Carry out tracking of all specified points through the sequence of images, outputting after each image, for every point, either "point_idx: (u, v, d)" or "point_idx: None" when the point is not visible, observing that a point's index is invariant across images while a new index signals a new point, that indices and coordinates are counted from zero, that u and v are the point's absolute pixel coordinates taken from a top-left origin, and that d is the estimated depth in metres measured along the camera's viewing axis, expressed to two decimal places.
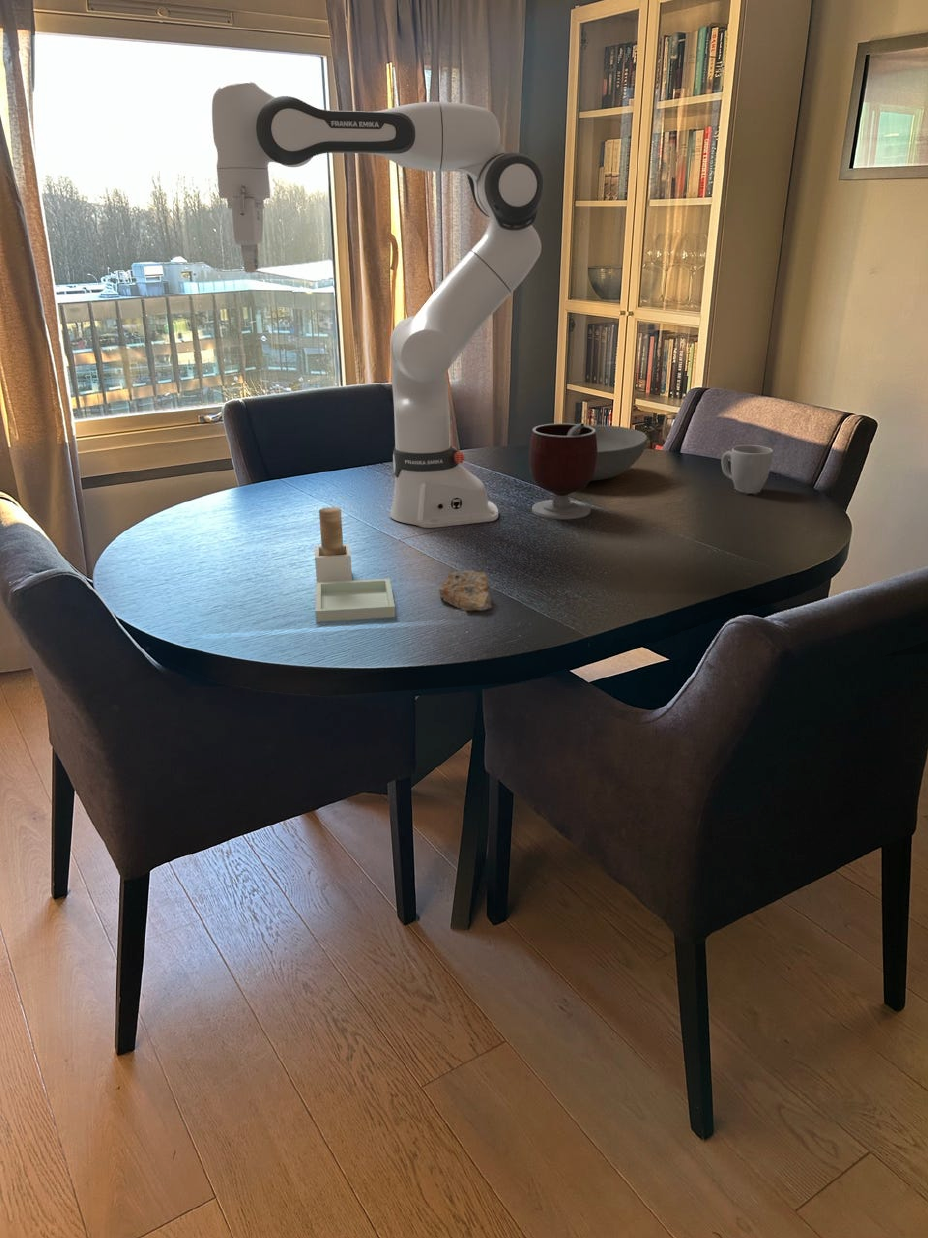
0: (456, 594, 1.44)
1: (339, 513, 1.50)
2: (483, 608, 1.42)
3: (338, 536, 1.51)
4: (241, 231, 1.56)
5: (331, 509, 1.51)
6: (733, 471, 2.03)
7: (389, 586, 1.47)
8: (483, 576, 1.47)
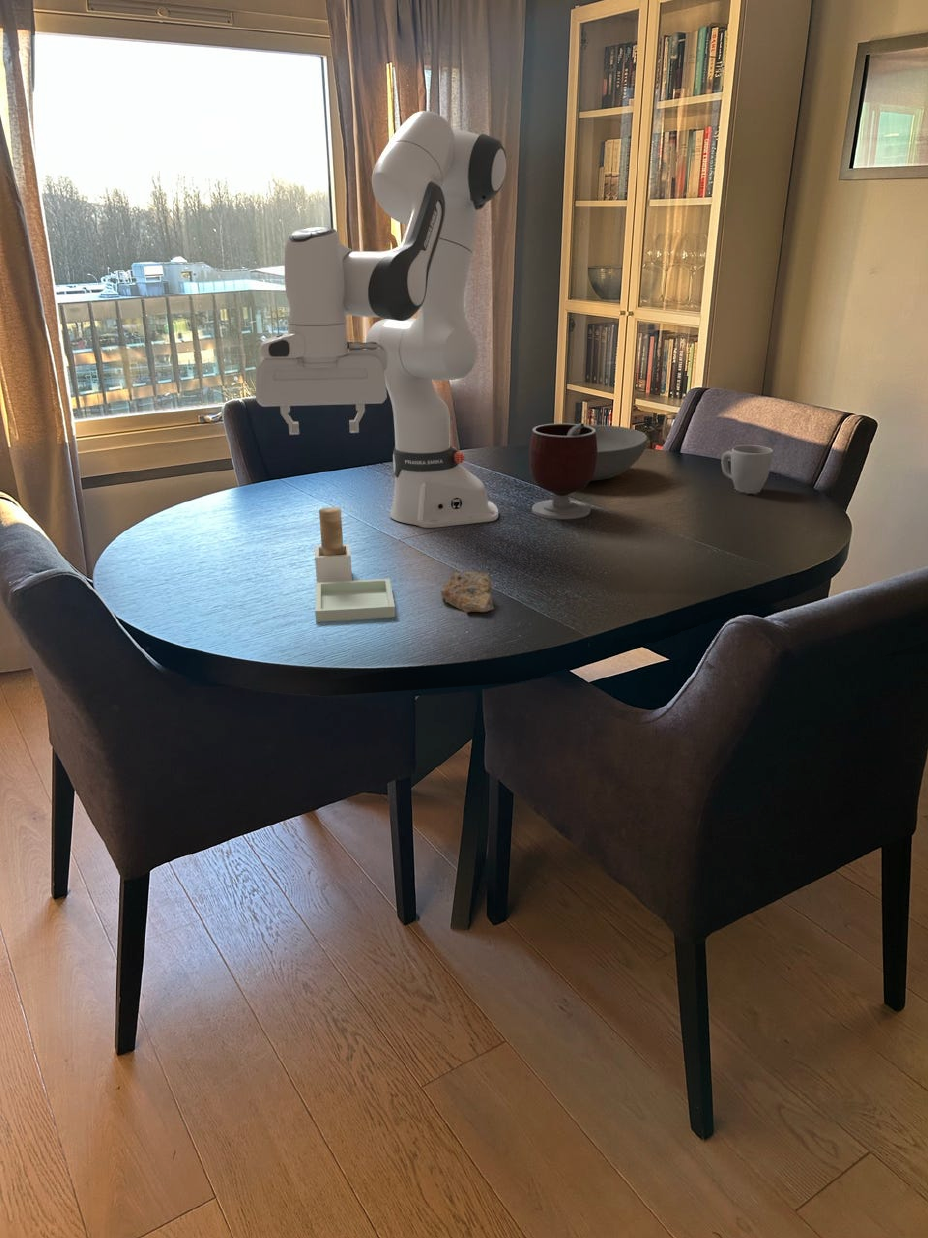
0: (457, 595, 1.44)
1: (339, 513, 1.50)
2: (485, 610, 1.42)
3: (338, 536, 1.51)
4: None
5: (331, 509, 1.51)
6: (733, 471, 2.03)
7: (389, 586, 1.47)
8: (485, 577, 1.46)
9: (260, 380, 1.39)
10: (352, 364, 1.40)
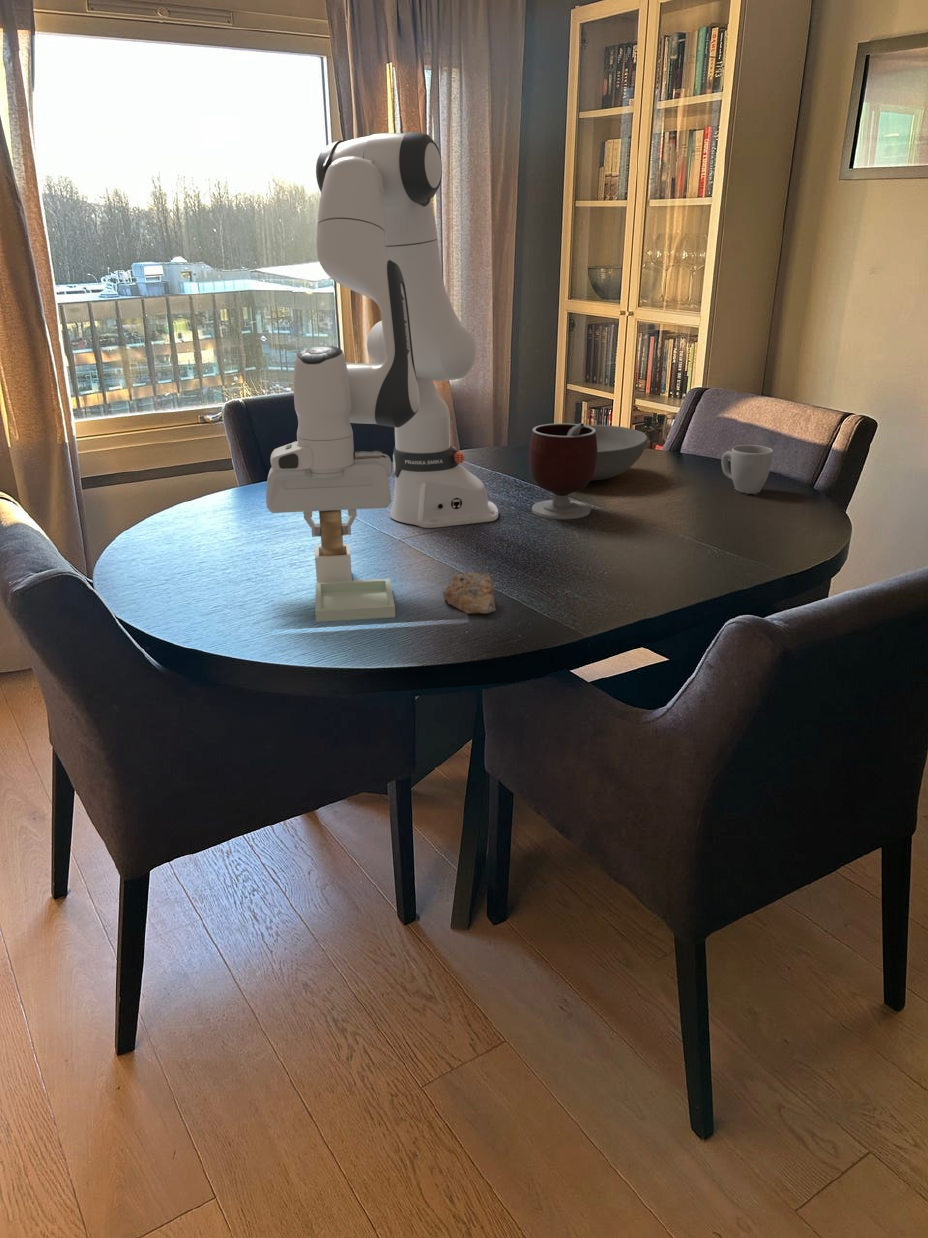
0: (459, 596, 1.43)
1: (339, 513, 1.50)
2: (487, 611, 1.41)
3: (338, 536, 1.51)
4: None
5: None
6: (733, 471, 2.03)
7: (389, 586, 1.47)
8: (488, 579, 1.45)
9: (270, 490, 1.46)
10: (358, 473, 1.47)
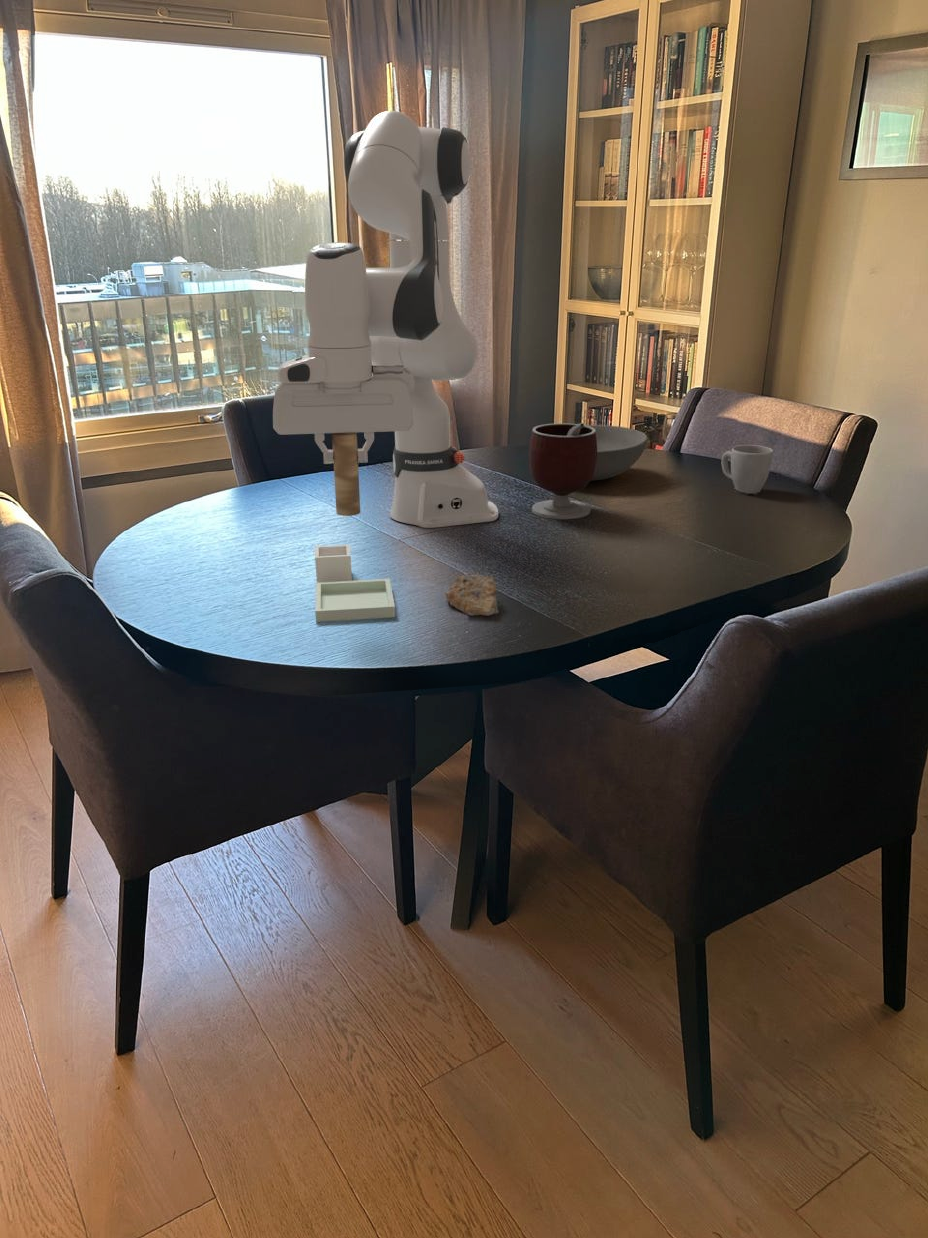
0: (462, 598, 1.42)
1: (355, 436, 1.33)
2: (489, 613, 1.40)
3: (353, 463, 1.34)
4: None
5: None
6: (733, 471, 2.03)
7: (389, 586, 1.47)
8: (491, 580, 1.45)
9: (278, 407, 1.29)
10: (376, 390, 1.30)
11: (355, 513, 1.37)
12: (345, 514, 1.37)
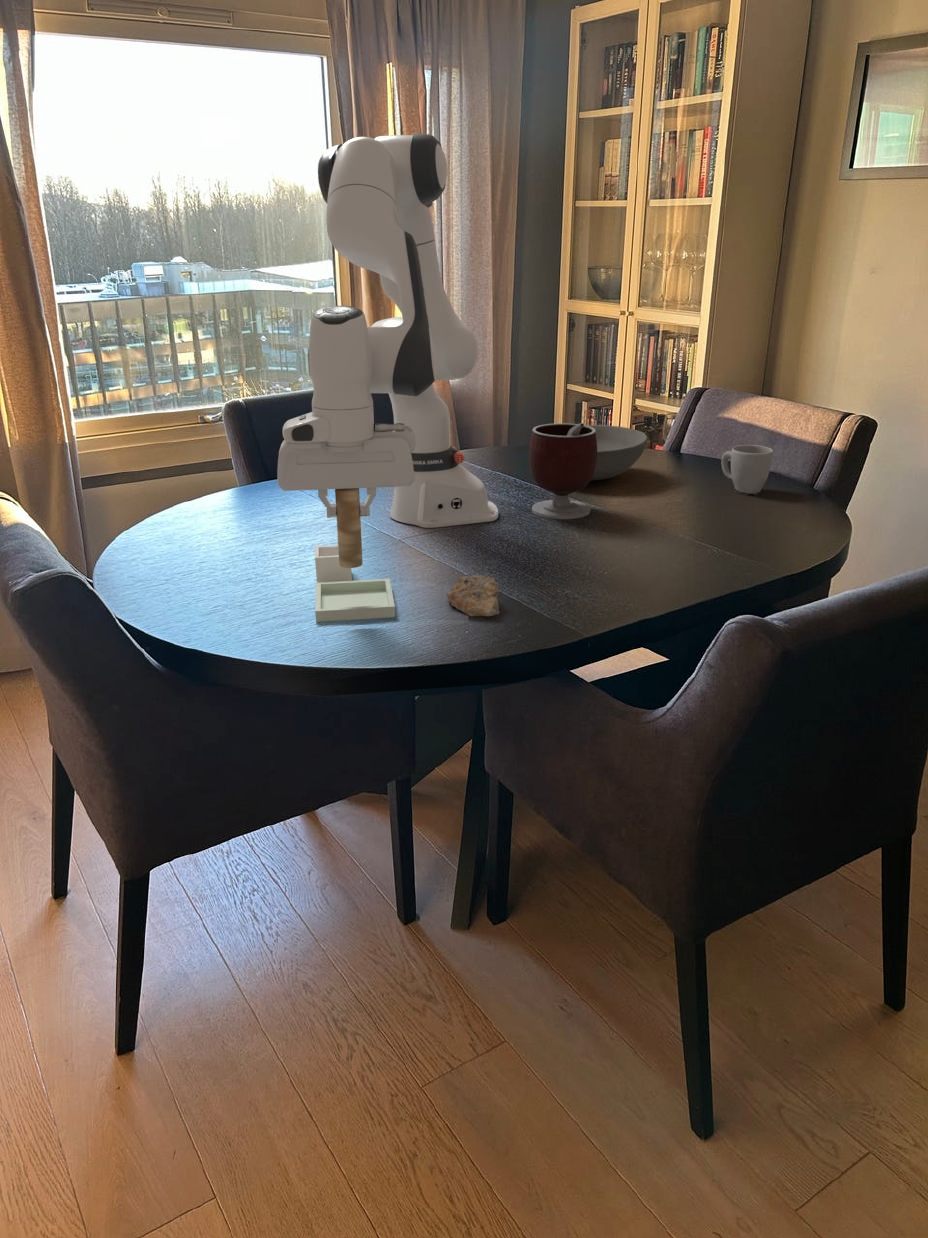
0: (463, 599, 1.42)
1: (357, 492, 1.37)
2: (490, 614, 1.40)
3: (356, 517, 1.38)
4: None
5: None
6: (733, 471, 2.03)
7: (389, 586, 1.47)
8: (492, 581, 1.44)
9: (282, 465, 1.32)
10: (378, 448, 1.34)
11: (357, 565, 1.41)
12: (348, 566, 1.40)
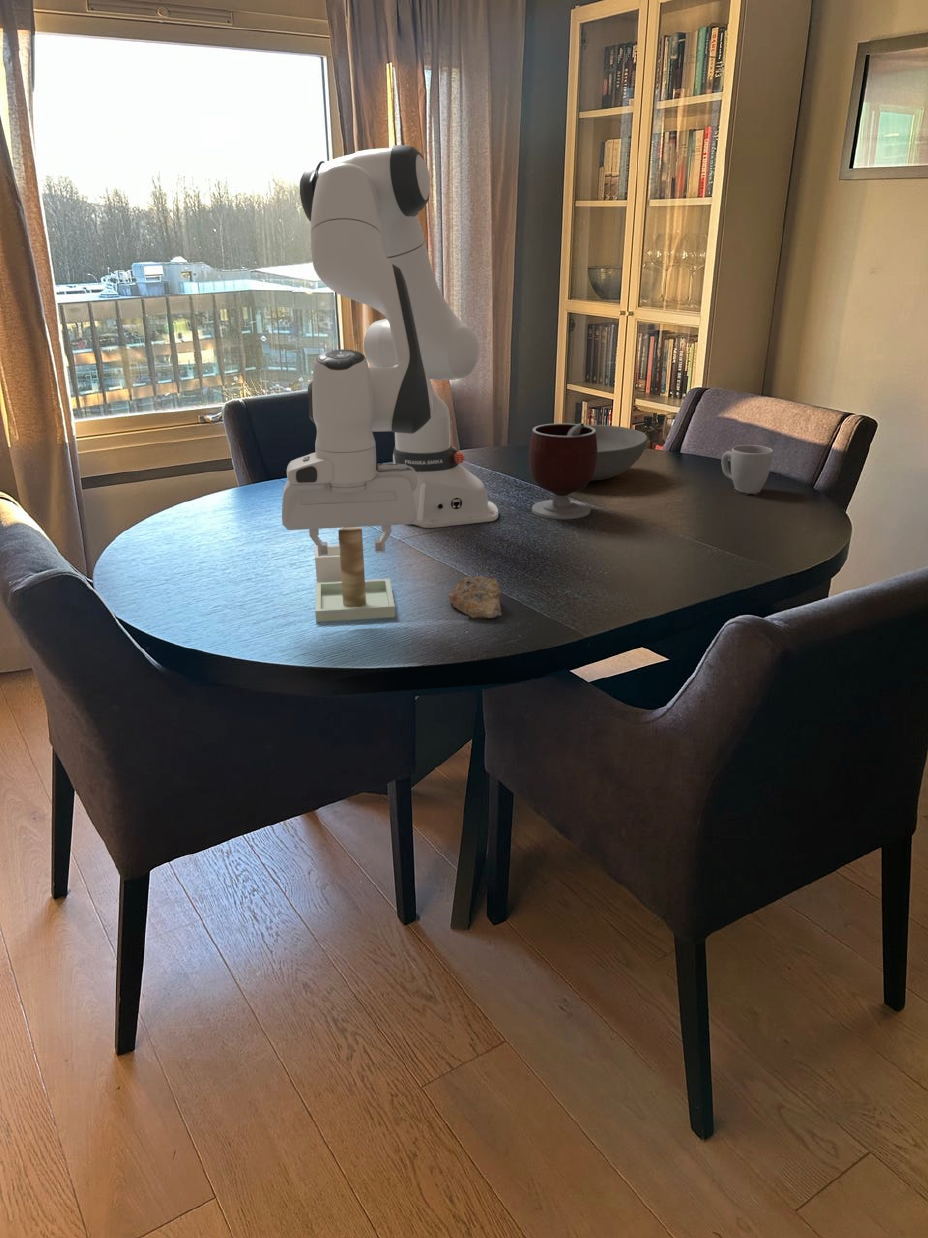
0: (465, 600, 1.42)
1: (360, 534, 1.39)
2: (491, 615, 1.39)
3: (359, 559, 1.40)
4: None
5: (351, 530, 1.40)
6: (733, 471, 2.03)
7: (389, 586, 1.47)
8: (494, 583, 1.44)
9: (286, 505, 1.35)
10: (381, 487, 1.36)
11: (361, 604, 1.43)
12: (351, 606, 1.43)
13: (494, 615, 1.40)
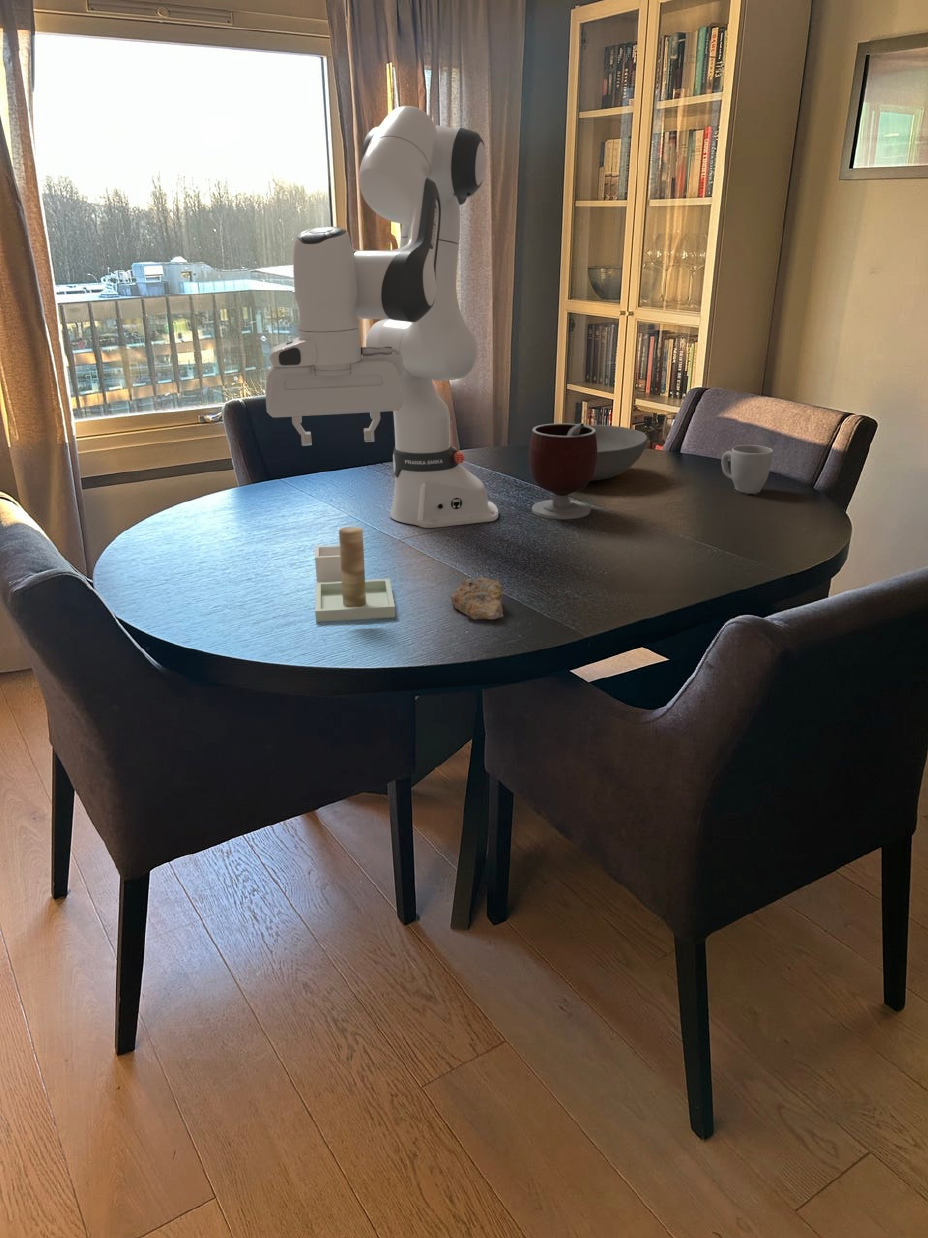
0: (467, 601, 1.41)
1: (361, 534, 1.39)
2: (493, 617, 1.39)
3: (359, 559, 1.40)
4: None
5: (352, 530, 1.40)
6: (733, 471, 2.03)
7: (389, 586, 1.47)
8: (497, 584, 1.43)
9: (270, 390, 1.32)
10: (366, 371, 1.33)
11: (361, 604, 1.43)
12: (351, 606, 1.43)
13: (496, 617, 1.39)
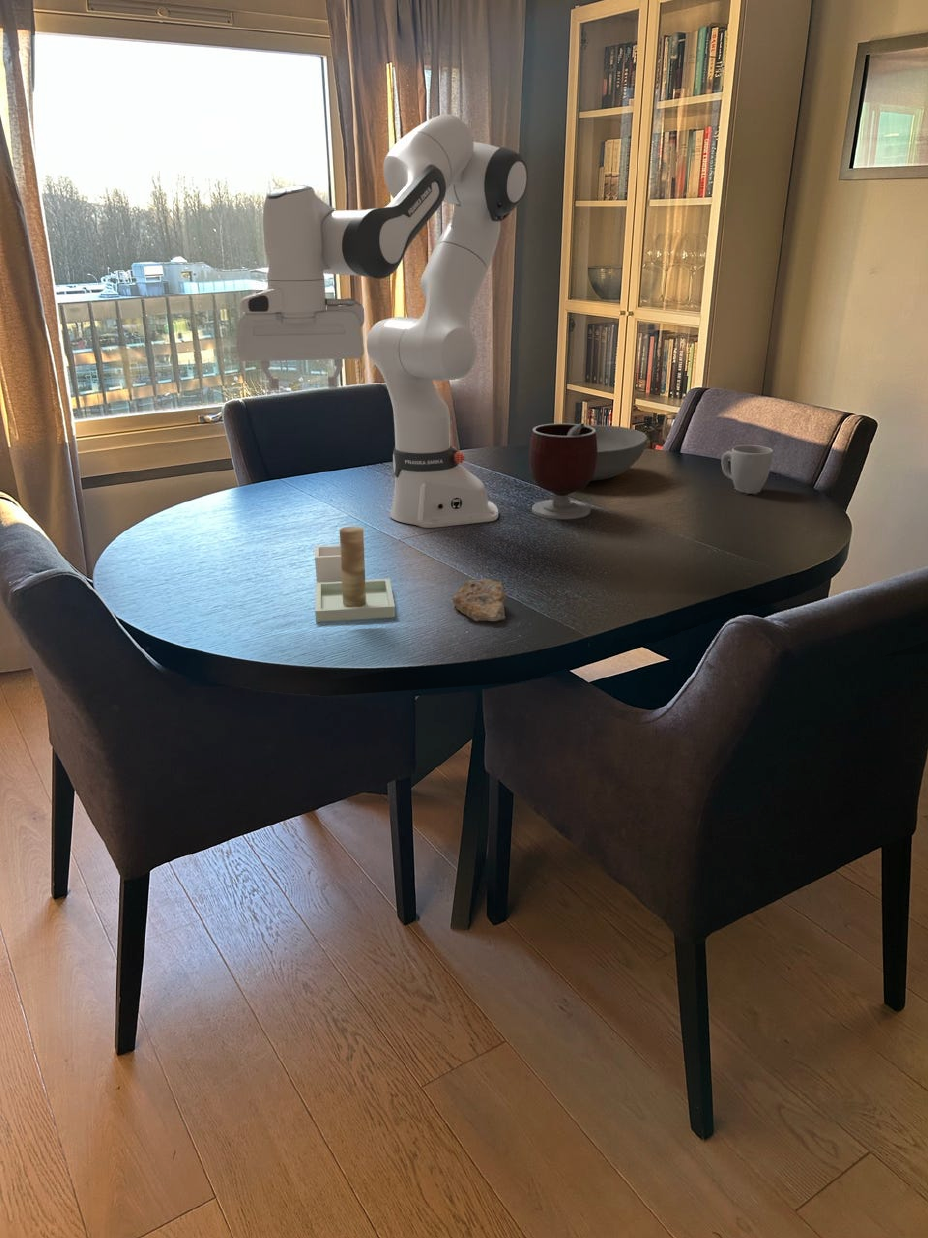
0: (468, 603, 1.41)
1: (361, 534, 1.39)
2: (494, 619, 1.38)
3: (360, 559, 1.40)
4: None
5: (352, 529, 1.40)
6: (733, 471, 2.03)
7: (389, 586, 1.47)
8: (499, 586, 1.43)
9: (240, 335, 1.43)
10: (330, 320, 1.45)
11: (361, 604, 1.43)
12: (352, 605, 1.43)
13: (497, 618, 1.39)
